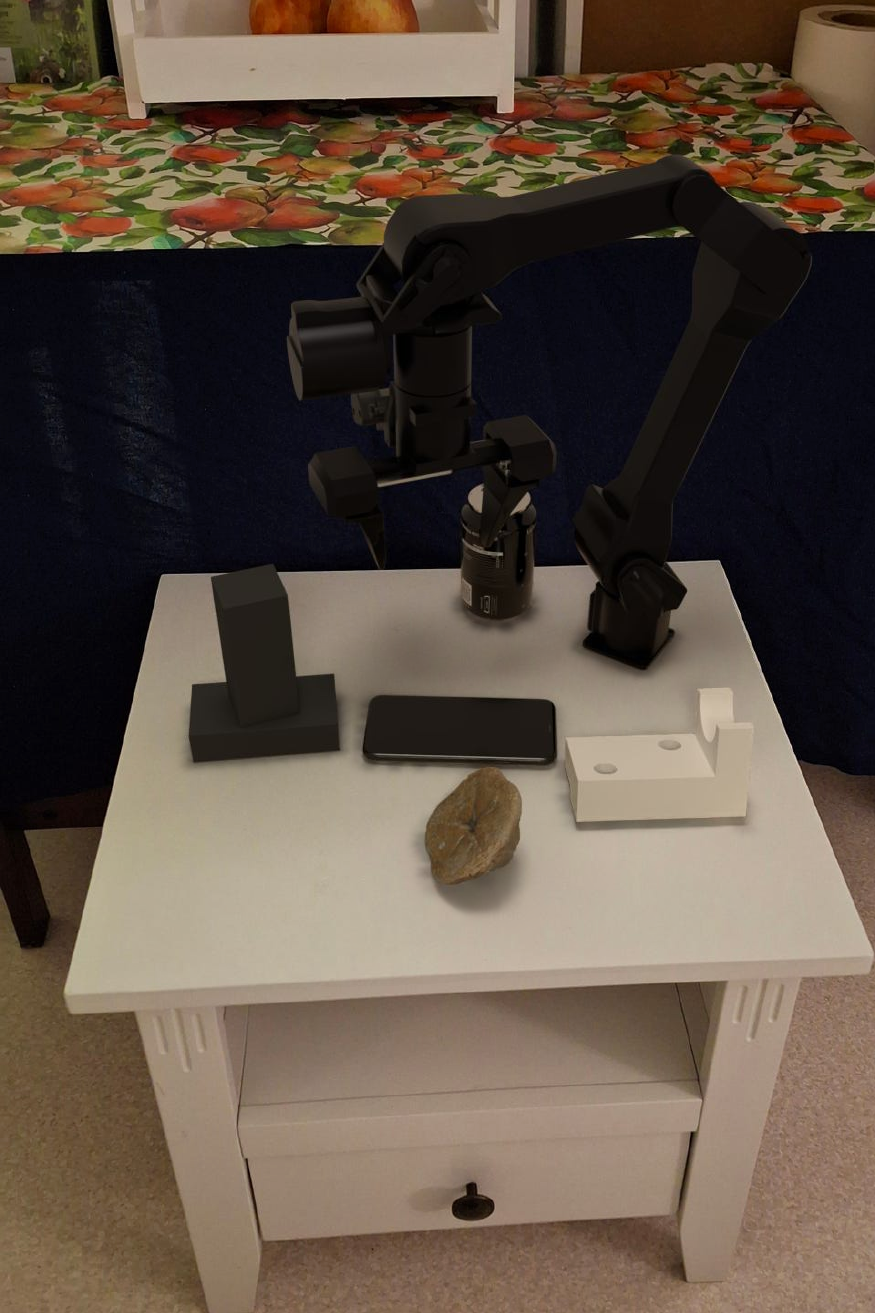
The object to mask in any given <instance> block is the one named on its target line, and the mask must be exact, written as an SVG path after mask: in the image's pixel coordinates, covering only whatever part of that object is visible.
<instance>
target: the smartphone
mask: <svg viewBox="0 0 875 1313" xmlns="http://www.w3.org/2000/svg"><path fill="white" fill-rule="evenodd" d="M557 723H558V722H557V707H556V704H555V703H554V702H553V701H552V700H549V699H546V698H529V697H528V698H522V697H521V698H520V697H486V696H485V697H484V696H483V697H482V696H449V695H447V696H446V695H445V696H444V695H442V696H441V695H407V694H404V695H403V694H377V695H374V696H373V697H372V698H371V699H370V700H369V703H368V707H367V713H366V720H365V727H364V733H363V741H362V747H361V752H362V756H363V757H364V758H365V759H367V760H368V761H374V762H397V763H399V762H400V763H435V764H437V763H438V764H464V765H465V764H470V765H499V766H500V765H502V766H503V765H504V766H505V765H509V766H510V765H511V766H535V767H536V766H539V767H545V766H550V765H553V764H554V763H555V762H556V761H557V758H558V726H557V725H558V724H557Z"/></svg>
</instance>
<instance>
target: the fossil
mask: <svg viewBox="0 0 875 1313" xmlns="http://www.w3.org/2000/svg"><path fill="white" fill-rule="evenodd" d="M466 777H467V778H464V779H462V781H461V782H460V783H459V785H458V786H457V787H456V788H455V789H454V790H453V791H452V792H450V794H447V796H446V797H445V798H444V799H442V801H441V802H439V803H438V804H437V805H436V806H435V808H434V810H433V811H432V813H431V815H430V817H429V819H428V821H427V823H426V827H425V828H426V829H425V830H426V831H425V833H424V844H425V848H426V849H427V852H428V853H429V854H430V870H431V873H432V874H433V876H434V878H435V880H436V881H438V882H439V883H442V884H444V885H447V886H456V885H460V884H462V883H466V882H468V881H472V880H475V879H478V878H480V877H481V876H483V875H485V874H487V873H488V872H492V871H495V870H498V869H503V868H505V867H506V866H508V865H509V864H510V863H511V862H512V860H514V859H513V858H514V853H515V852H516V850H517V846H518V845H519V844H520V840H521V829H520V822H521V818H522V813H523V800H522V796H521V793H520V790H519V789H518V787H517V786H516V785H515V783H513V782H511V781H510V780H509V779H508V778H506V776H505V775H504V774H503V772H502V771H501V769H499V768H498V767H494V766H485V767H481V768H478V769H477V770H475V771H474V772H471V773H470V774H468V775H467V776H466Z"/></svg>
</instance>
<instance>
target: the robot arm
mask: <svg viewBox="0 0 875 1313" xmlns="http://www.w3.org/2000/svg"><path fill="white" fill-rule="evenodd" d="M673 228H684V230H686V231H687V232H688V233H689V234H691V235H692V236H693V237H695V239H697V240H698V241H700V246H699V249H698V253H697V256H696V260H695V263H694V267H693V270H692V288H691V289H692V291H691V292H692V293H691V294H692V296H691V298H692V299H691V314H690V318H689V321H688V323H687V325H686V328H685V330H684V333H683V335H682V337H681V339H680V341H679V344H678V345H677V348H676V350H675V352H674V354H673V357H672V359H671V361H670V364H669V366H668V368H667V370H666V373H665V375H664V377H663V380H662V382H661V384H660V386H659V388H658V390H657V393H656V395H655V397H654V400H653V402H652V404H651V406H650V408H649V410H648V413H647V415H646V417H645V420H644V422H643V423H642V426H641V428H640V431H639V433H638V435H637V437H636V439H635V442H634V444H633V447H632V448H631V450H630V453H629V456H628V458H627V460H626V462H625V464H624V466H623V469H622V471H621V472H620V473H619V475H618V476H617V477H615V479H613V480H612V481H610V482H609V483H608V484H606V485H605V486H604V487H600V486H597V485H595V484H589V485H588V486H587V488H586V490H585V493H584V496H583V501H582V503H581V506H580V508H579V509H578V512H577V513H576V514H575V515H574V516H573V518H571V520H570V522H571V524H572V525H573V527H574V532H573V541H574V544H575V546H576V548H577V551H578V552H579V553H580V555H581V556H582V558H583V560H584V561H585V563H586V564H587V565H588V567H589V569H590V570H591V571H592V573H593V574H594V576H595V577H596V579H597V582H596V583H595V587H594V590H593V591H591V593H590V594H589V602H588V613H587V624H586V629H587V631H588V632H590V633H589V634H588V635H587V636H585V638H584V639H583V640H582V648H583V649H585V650H588V651H591V652H593V653H595V654H598V655H600V656H604V657H606V658H608V659H612V660H614V661H617V662H619V663H622V664H625V665H627V666H630V667H632V668H634V669H637V670H641V671H645V670H648V669H649V668H650V666H652V664H653V663H654V662H655V661H656V659H657V658H658V657H659V656H660V655H661V653H662V652H663V651H664V649H666V647H667V646H668V645H669V643H671V641H672V640H673V639H674V638H675V636H676V630H675V629H673V628H671V627H670V623H671V622H670V621H671V616H672V611H676V610H678V609H679V608H680V606H681V604H682V603H683V601H684V598H685V597H686V595H687V594H688V588H687V587H686V585H685V584H684V583H683V581H681V579H680V578H679V576H678V575H677V574H676V572H675V571H674V570H673V568H672V567H671V566H670V564H669V563H668V562H667V558H668V556H669V552H670V548H671V545H672V541H673V505H674V501H675V498H676V496H677V494H678V492H679V489H680V487H681V485H682V483H683V481H684V479H685V477H686V474H687V472H688V471H689V469H690V466H691V465H692V462H693V460H694V458H695V456H696V454H697V452H698V450H699V447H700V445H701V444H702V441H703V440H704V437H705V434H706V433H707V431H708V429H709V427H710V425H711V423H712V421H713V418H714V417H715V414H716V412H717V410H718V408H719V406H720V404H721V402H722V399H723V398H724V396H725V394H726V391H727V390H728V387H729V385H730V383H731V381H732V379H733V377H734V374H735V373H736V370H737V369H738V366H739V365H740V362H741V360H742V358H743V356H744V353H745V351H746V350H747V348H748V346H749V344H750V343H751V342H752V340H754V339H755V338H757V337H758V336H759V335H760V334H762V333H763V332H764V331H765V330H767V329H769V327H771V326H772V325H774V323H776V322H777V321H779V320H780V319H781V318H782V317H783V315H784V314H785V312H786V311H787V309H788V307H789V306H790V304H791V303H792V302H793V300H794V299H795V297H796V295H797V294H798V292H800V289H801V288H802V287H803V285H804V283H806V280H807V278H808V276H809V273H810V270H811V267H812V264H813V255H812V254H811V251H810V247H809V242H808V240H807V239H806V238H805V236H804V235H803V234H802V233H801V232H800V231H798V230H797V229H795V228H794V227H792V226H791V225H789V224H788V223H786V222H785V221H784V220H782V219H781V218H780V217H778V216H776V215H775V214H773V213H772V212H770V211H769V210H767V209H766V208H765V207H763V206H761V205H760V204H757V203H756V202H752V201H741V202H739V200H737V199H736V198H735V197H734V196H732V195H731V194H730V193H729V192H727V191H726V190H725V189H724V188H723V187H722V186H721V185H719V184H718V183H717V181H716V178H715V177H714V176H713V175H712V173H710V171H708V170H706V169H705V168H703V167H702V166H701V165H699V164H698V163H697V162H695V161H694V160H692V159H690V158H689V157H687V156H685V155H682V154H669V155H665V156H663V157H661V158H658V159H657V160H656V161H655V162H650V163H645V164H642V165H637V166H634V167H629V168H624V169H621V170H616V171H612V172H608V173H604V174H600V175H599V174H598V175H596V176H591V177H587V178H584V179H579V180H574V181H570V182H566V183H562V184H558V185H554V186H550V187H545V188H541V189H537V190H533V191H529V192H525V193H524V192H523V193H521V194H515V195H511V196H496V197H495V196H487V195H486V196H485V195H476V194H470V193H469V194H468V193H449V194H447V193H446V194H445V193H444V194H429V195H427V194H426V195H416V196H414V197H411V198H408V199H406V200H404V201H402V202H401V203H400V204H398V205H397V206H396V207H395V208H394V212H393V213H392V215H391V216H390V217H389V219H388V221H387V223H386V226H385V229H384V232H383V243H382V244H381V245H380V247H379V248H378V250H377V251H376V253H375V255H374V257H373V258H371V259H372V260H370V262H369V263H368V265H367V266H366V269H365V270H364V272H362V275H361V276H360V277H359V279H358V281H357V282H356V288H357V290H358V292H359V294H360V296H357V297H348V298H339V299H329V300H312V299H306V300H305V299H304V300H296V301H293V302H292V303H290V310H291V312H290V313H291V318H290V320H289V328H288V329H289V330H288V331H289V333H288V334H289V335H287V336H286V344H287V354H288V361H289V362H288V363H289V368H290V374H291V377H292V378H291V379H292V384H293V387H294V391H295V395H296V397H297V400H298V401H300V402H301V401H309V400H316V399H317V400H318V399H324V398H332V397H340V396H348V395H350V405H351V412H352V413H351V414H352V418H353V421H354V423H355V424H356V425H359V426H361V427H367V426H372V425H375V427H376V431H378V432H382V431H383V432H384V433H383V434H384V437H383V439H384V442H385V444H386V445H387V447H388V448H394V447H395V453H396V454H395V456H392V457H386V458H380V459H376V460H371V461H368V460H367V459H366V458H365V456H364V454H363V453H362V451H361V450H360V448H359V447H358V445H354V446H348V447H343V448H338V449H331V450H325V451H321V452H315V453H314V454H313V456H312V458H311V459H310V461H309V462H308V464H307V470H308V484H309V486H310V488H311V490H312V491H313V493H314V495H315V496H316V498H317V501H318V502H319V504H320V505H321V507H322V509H323V511H324V513H325V514H326V516H327V517H329V518H333V519H342V520H343V522H344V523H346V524H349V525H355V524H358V525H359V528H360V530H361V532H362V534H363V537H364V539H365V541H366V544H367V546H368V548H369V550H370V553H371V556H372V557H373V560H374V562H375V565H377V569H379V571H383V570H385V569H386V568H385V567H386V562H387V551H386V535H385V520H384V512H383V511H382V509H381V507H380V506H379V505H378V503H379V502H380V488H381V487H382V488H383V487H388V486H393V485H399V484H403V483H404V484H405V483H409V482H414V481H418V480H425V479H429V478H434V477H439V476H440V477H441V476H446V475H450V474H452V473H453V472H460V471H464V470H465V471H466V470H470V469H476V468H481V469H482V475H483V484H484V487H483V500H482V512H481V541H482V544H483V545H484V546H485V547H486V548H487V547H490V546H491V545H492V543H493V542H494V540H495V538H496V537H497V535H498V533H499V532H500V530H501V529H502V527H503V525H504V524H505V522H506V521H507V519H508V517H509V516H510V514H511V513H512V512H513V510H514V509H515V508H516V506H517V505H518V504H519V502H520V501H521V500H522V499H523V497H524V496H525V495H526V493H527V492H528V493H529V491H530V490H532V489H535V488H538V487H539V486H540V484H541V479H545V478H549V477H553V476H554V475H555V473H556V469H557V456H558V454H557V449H556V446H555V443H554V442H553V441H552V439H551V438H550V437H549V436H548V435H547V434H546V433H545V432H544V431H543V430H542V429H541V427H539V426H538V425H537V423H536V422H535V421H534V420H532V418H531V417H529V416H528V415H527V414H525V415H520V416H514V417H508V418H503V419H496V420H491V421H488V422H487V423H486V424H484V425H483V431H482V432H483V434H482V440H476V441H471V432H472V430H471V427H472V426H471V424H472V418H474V417H477V416H478V403H477V401H475V399H473V397H472V363H473V362H472V361H473V360H472V359H473V358H472V357H473V356H472V355H473V326H482V325H490V324H497V323H499V322H500V321H501V320H502V313H501V312H500V311H499V310H498V309H497V308H496V306H495V305H494V303H493V302H492V301H491V300H490V298H489V297H488V296H486V295H485V294H484V293H483V292H486V291H487V290H490V289H493V288H494V287H495V286H497V285H498V284H499V283H500V282H502V281H503V280H504V279H505V278H507V277H508V276H509V275H510V274H511V273H512V272H514V271H515V270H517V269H519V268H522V267H524V266H526V265H529V264H531V263H535V262H538V261H539V262H540V261H543V260H546V259H552V258H554V257H559V256H563V255H567V254H571V253H576V252H579V251H584V250H587V249H592V248H595V247H599V246H605V245H609V244H612V243H617V242H620V241H625V240H629V239H632V238H636V237H640V236H645V235H649V234H653V233H657V232H661V231H665V230H670V229H673ZM400 280H401V281H402V282H403V284H404V285H403V287H402V288H401V290H400V291H399V292H398V290H397V289H396V287H395V285H396V284H397V283H398V282H400ZM391 336H392V342H393V344H392V345H393V346H392V348H393V379H394V380H391V381H389V386H388V387H386V385H387V376H390V375H391V372H392V350H391V339H390V337H391ZM383 387H384V388H383Z"/></svg>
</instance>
